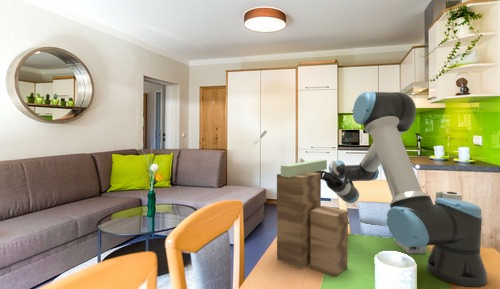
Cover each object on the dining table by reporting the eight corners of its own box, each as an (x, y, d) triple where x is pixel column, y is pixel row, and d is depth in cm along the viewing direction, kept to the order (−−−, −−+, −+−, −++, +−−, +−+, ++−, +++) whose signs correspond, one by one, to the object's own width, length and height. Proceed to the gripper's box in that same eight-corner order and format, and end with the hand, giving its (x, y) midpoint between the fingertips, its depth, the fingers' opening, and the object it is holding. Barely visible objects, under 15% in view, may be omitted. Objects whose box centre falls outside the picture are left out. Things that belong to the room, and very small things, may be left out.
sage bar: (289, 177, 93) (289, 166, 93) (280, 176, 96) (280, 165, 95) (326, 169, 110) (326, 160, 110) (318, 168, 113) (318, 159, 113)
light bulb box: (426, 254, 105) (427, 224, 104) (408, 254, 105) (408, 224, 104) (411, 242, 115) (411, 215, 115) (393, 242, 116) (394, 215, 115)
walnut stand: (330, 280, 87) (331, 181, 85) (277, 259, 101) (276, 174, 99) (348, 266, 95) (349, 176, 94) (296, 249, 110) (296, 170, 108)
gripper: (365, 196, 112) (344, 175, 98) (310, 188, 129) (284, 168, 115) (370, 178, 114) (349, 155, 100) (314, 172, 131) (290, 151, 118)
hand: (314, 162), depth 108 cm, fingers open, 13 cm apart
